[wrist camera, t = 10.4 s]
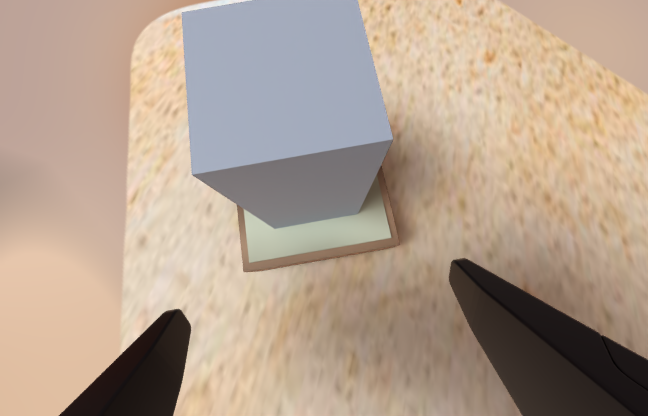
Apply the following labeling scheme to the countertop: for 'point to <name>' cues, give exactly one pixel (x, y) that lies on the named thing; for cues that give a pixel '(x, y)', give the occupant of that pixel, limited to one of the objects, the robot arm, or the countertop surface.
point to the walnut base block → (319, 234)
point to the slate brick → (284, 107)
